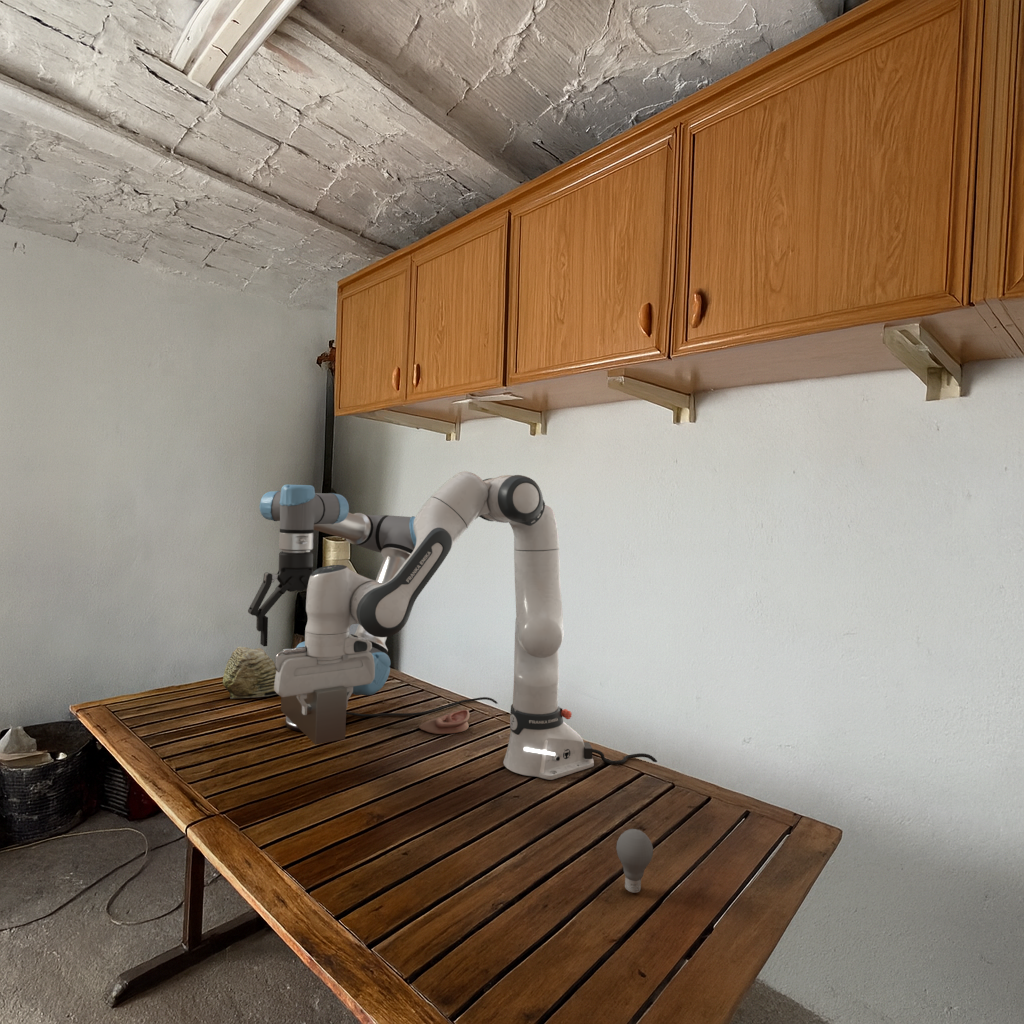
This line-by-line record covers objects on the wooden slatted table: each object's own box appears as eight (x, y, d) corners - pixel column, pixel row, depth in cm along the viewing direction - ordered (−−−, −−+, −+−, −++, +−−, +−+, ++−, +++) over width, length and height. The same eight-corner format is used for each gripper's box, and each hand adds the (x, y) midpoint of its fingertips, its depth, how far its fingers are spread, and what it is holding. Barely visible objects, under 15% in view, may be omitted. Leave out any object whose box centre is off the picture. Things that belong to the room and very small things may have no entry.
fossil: (218, 695, 195) (220, 647, 195) (278, 685, 208) (279, 640, 207) (228, 703, 189) (230, 653, 188) (289, 692, 201) (290, 645, 201)
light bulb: (610, 879, 108) (613, 822, 108) (644, 879, 109) (647, 822, 109) (619, 902, 102) (622, 840, 102) (655, 901, 103) (658, 840, 103)
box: (280, 710, 145) (282, 665, 144) (307, 706, 148) (309, 662, 148) (315, 745, 126) (317, 693, 126) (345, 739, 129) (347, 688, 129)
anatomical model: (415, 716, 173) (429, 704, 184) (414, 731, 173) (428, 717, 184) (462, 722, 170) (473, 709, 181) (461, 737, 170) (472, 722, 181)
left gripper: (244, 554, 136) (241, 651, 137) (353, 551, 152) (351, 638, 152) (235, 550, 142) (233, 644, 143) (341, 548, 158) (339, 632, 158)
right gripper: (280, 653, 122) (278, 724, 122) (379, 642, 134) (376, 707, 134) (270, 646, 127) (268, 715, 127) (366, 636, 139) (364, 699, 139)
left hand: (293, 641), depth 148 cm, fingers open, 13 cm apart
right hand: (325, 710), depth 131 cm, fingers closed on box, 6 cm apart
